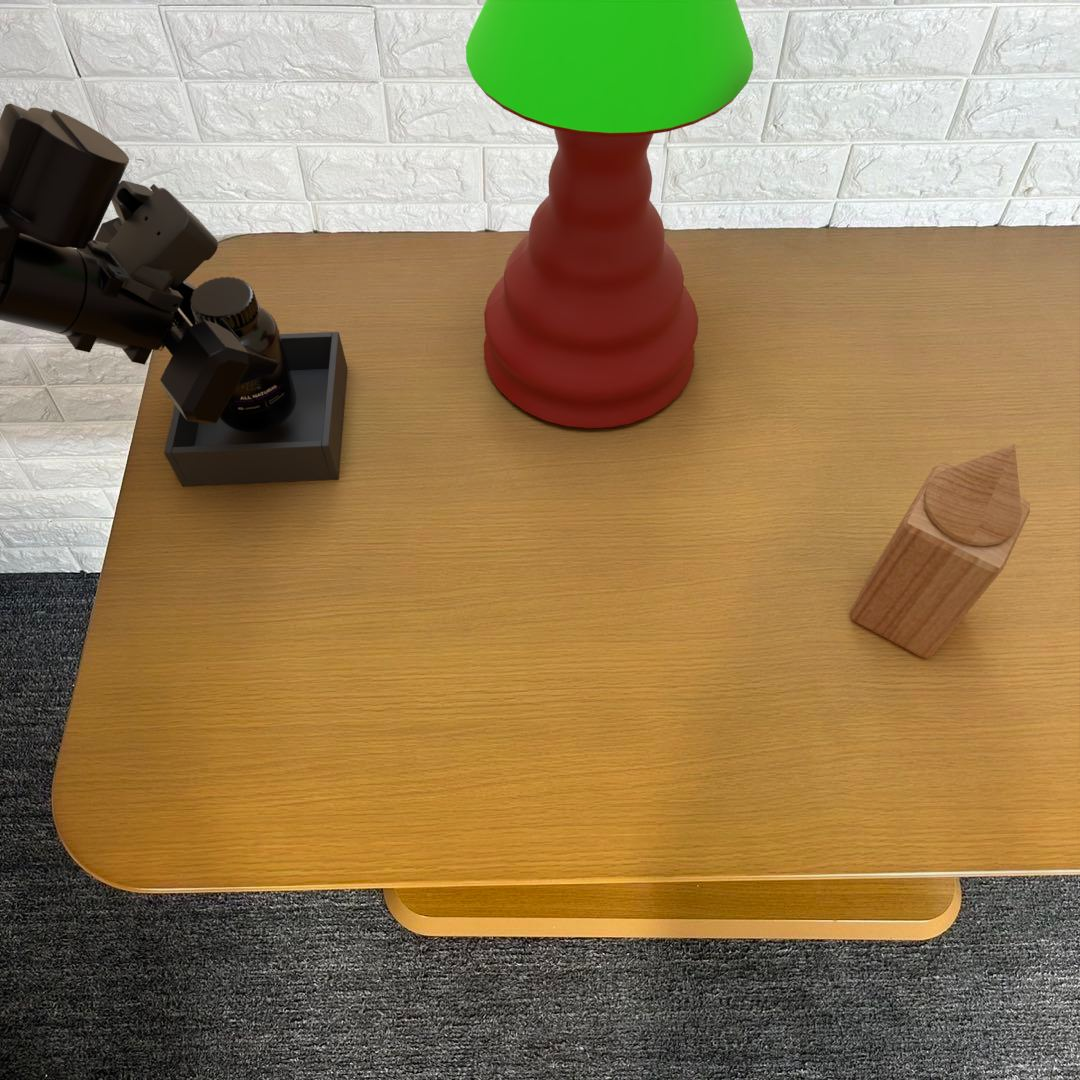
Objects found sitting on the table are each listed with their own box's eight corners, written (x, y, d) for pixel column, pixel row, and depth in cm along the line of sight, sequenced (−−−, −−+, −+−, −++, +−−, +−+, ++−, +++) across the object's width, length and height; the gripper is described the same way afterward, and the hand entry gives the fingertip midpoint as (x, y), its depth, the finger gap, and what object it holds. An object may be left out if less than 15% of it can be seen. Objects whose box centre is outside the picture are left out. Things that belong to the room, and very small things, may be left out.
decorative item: (878, 560, 72) (981, 386, 56) (958, 600, 70) (1089, 433, 54) (844, 619, 69) (942, 455, 52) (927, 664, 67) (1056, 508, 50)
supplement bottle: (269, 446, 75) (229, 339, 65) (202, 419, 77) (154, 311, 67) (314, 392, 79) (283, 282, 69) (249, 367, 80) (210, 257, 70)
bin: (182, 486, 76) (163, 453, 72) (204, 373, 83) (189, 337, 80) (338, 479, 77) (328, 445, 73) (347, 367, 84) (338, 331, 80)
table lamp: (491, 279, 91) (459, -325, 53) (687, 285, 90) (795, -320, 53) (476, 429, 80) (424, -200, 42) (700, 436, 79) (847, -192, 42)
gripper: (177, 259, 53) (365, 322, 66) (55, 116, 61) (244, 198, 74) (101, 410, 57) (293, 442, 70) (-4, 257, 65) (186, 312, 78)
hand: (254, 342), depth 73 cm, fingers closed on supplement bottle, 7 cm apart
